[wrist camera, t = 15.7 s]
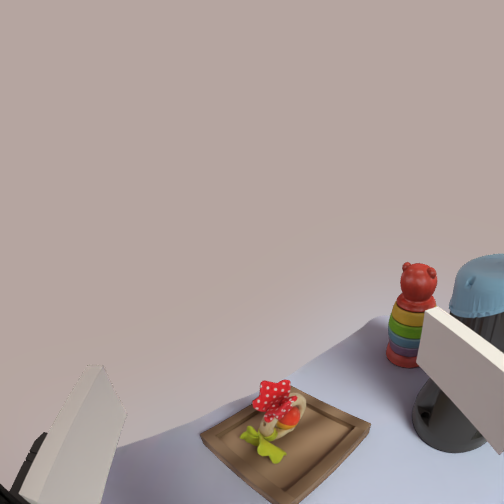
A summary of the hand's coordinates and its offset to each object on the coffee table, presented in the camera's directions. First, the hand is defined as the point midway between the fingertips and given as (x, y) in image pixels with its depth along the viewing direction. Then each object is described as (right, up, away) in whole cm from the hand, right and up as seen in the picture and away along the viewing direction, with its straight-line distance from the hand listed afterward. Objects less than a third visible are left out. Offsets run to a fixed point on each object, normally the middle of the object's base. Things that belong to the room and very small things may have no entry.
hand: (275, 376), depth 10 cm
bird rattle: (+3, -20, +21) cm, 29 cm away
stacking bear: (+29, -15, +35) cm, 48 cm away
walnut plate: (+4, -21, +21) cm, 30 cm away
